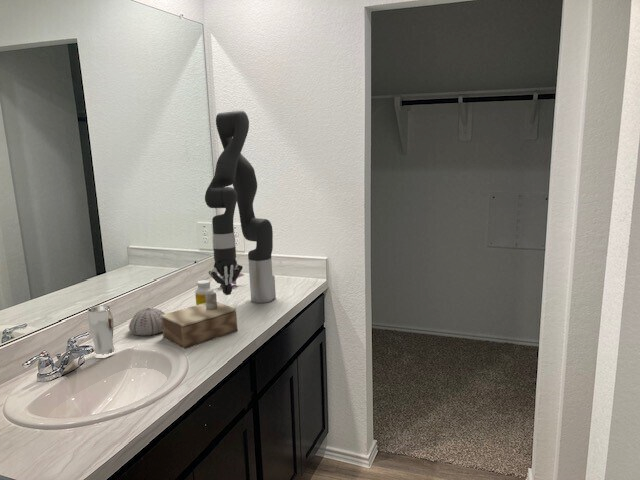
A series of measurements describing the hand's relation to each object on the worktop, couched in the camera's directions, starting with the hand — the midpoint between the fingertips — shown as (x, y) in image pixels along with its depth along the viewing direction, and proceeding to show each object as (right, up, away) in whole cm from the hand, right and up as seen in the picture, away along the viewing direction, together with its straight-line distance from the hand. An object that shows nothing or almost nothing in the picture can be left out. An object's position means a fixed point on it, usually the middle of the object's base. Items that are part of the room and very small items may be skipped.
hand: (227, 294), depth 177 cm
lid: (-8, -6, -7) cm, 12 cm away
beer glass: (-34, -17, -20) cm, 43 cm away
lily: (-8, -2, +49) cm, 50 cm away
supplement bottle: (-10, -9, +14) cm, 20 cm away
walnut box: (-8, -13, -6) cm, 16 cm away
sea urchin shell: (-27, -13, -1) cm, 30 cm away
